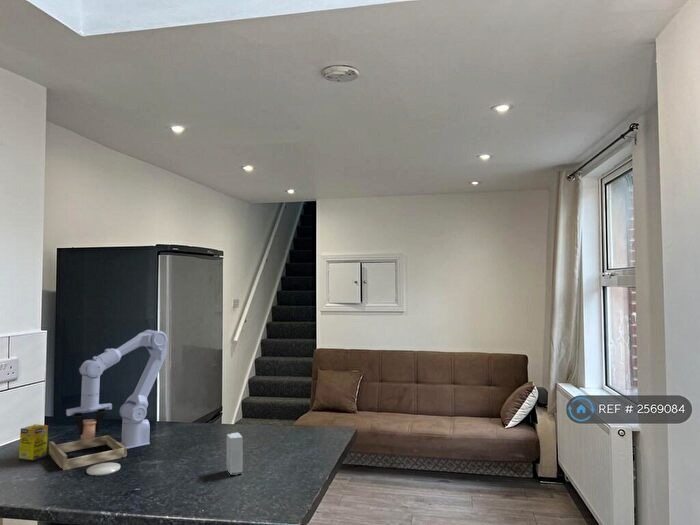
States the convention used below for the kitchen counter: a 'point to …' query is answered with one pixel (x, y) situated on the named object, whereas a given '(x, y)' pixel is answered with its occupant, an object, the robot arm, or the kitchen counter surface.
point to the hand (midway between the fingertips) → (88, 432)
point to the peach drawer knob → (88, 429)
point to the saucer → (103, 469)
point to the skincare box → (234, 453)
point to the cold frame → (64, 463)
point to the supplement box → (33, 442)
